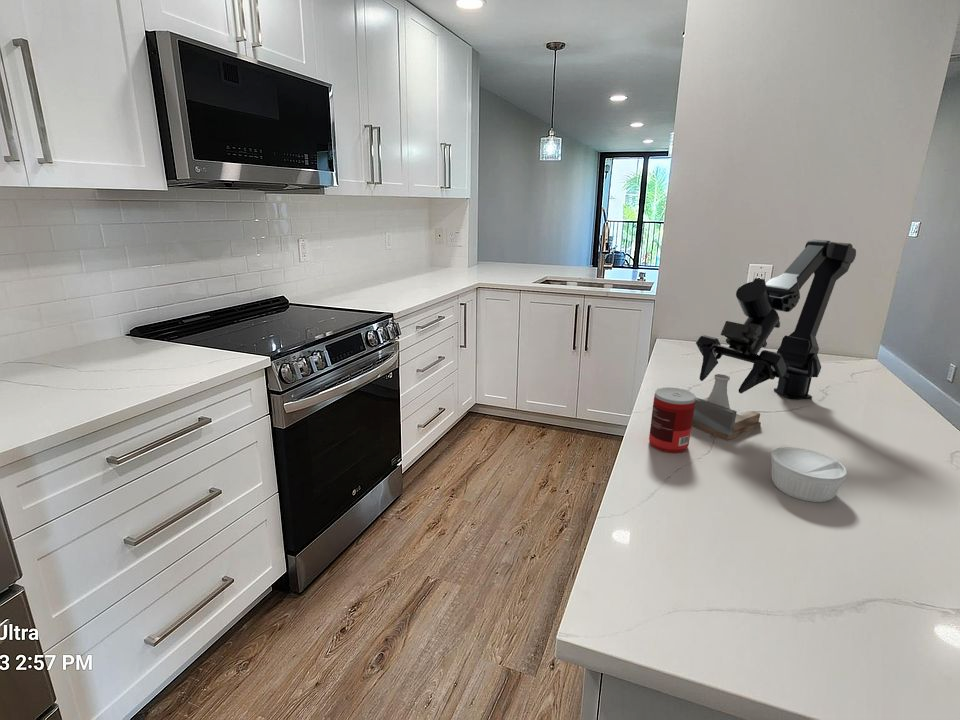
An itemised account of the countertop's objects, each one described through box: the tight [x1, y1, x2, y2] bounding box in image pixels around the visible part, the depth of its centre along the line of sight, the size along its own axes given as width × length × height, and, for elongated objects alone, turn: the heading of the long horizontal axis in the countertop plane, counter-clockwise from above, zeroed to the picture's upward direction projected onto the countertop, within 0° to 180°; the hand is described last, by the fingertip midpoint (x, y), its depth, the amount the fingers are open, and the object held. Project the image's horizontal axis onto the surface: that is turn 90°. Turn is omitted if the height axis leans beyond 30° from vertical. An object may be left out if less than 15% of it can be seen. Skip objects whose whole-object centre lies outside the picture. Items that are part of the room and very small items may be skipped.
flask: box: [707, 373, 731, 409], centre depth 117 cm, size 7×7×10 cm
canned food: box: [648, 387, 696, 454], centre depth 106 cm, size 8×8×11 cm
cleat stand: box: [691, 397, 762, 441], centre depth 118 cm, size 13×13×6 cm
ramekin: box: [770, 446, 848, 503], centre depth 92 cm, size 11×11×5 cm
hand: (719, 385), depth 116 cm, fingers open, 9 cm apart
